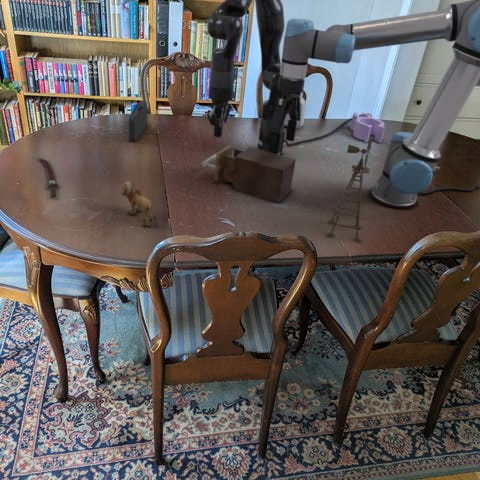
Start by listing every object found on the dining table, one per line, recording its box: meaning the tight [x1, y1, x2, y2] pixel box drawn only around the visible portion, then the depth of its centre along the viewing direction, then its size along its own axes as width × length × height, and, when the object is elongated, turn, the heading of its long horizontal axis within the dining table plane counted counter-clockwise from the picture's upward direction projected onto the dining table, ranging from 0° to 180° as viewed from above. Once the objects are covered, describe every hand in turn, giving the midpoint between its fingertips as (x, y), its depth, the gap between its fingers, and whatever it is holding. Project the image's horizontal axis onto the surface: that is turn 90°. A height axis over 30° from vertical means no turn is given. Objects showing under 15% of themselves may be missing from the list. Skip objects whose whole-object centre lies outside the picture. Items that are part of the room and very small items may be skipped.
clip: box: [349, 112, 386, 143], centre depth 214 cm, size 20×12×7 cm, turn 11°
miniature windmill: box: [329, 134, 373, 241], centre depth 132 cm, size 9×8×30 cm
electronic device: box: [284, 62, 309, 130], centre depth 208 cm, size 12×8×30 cm, turn 71°
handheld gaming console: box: [128, 100, 148, 142], centre depth 189 cm, size 23×3×10 cm, turn 178°
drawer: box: [201, 144, 245, 184], centre depth 158 cm, size 21×10×10 cm, turn 64°
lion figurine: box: [119, 181, 159, 227], centre depth 134 cm, size 15×5×9 cm, turn 50°
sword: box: [40, 158, 59, 198], centre depth 151 cm, size 31×3×1 cm, turn 26°
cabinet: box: [231, 146, 296, 204], centre depth 155 cm, size 17×11×12 cm, turn 64°
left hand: (217, 136), depth 156 cm, fingers closed
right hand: (281, 146), depth 147 cm, fingers open, 13 cm apart
